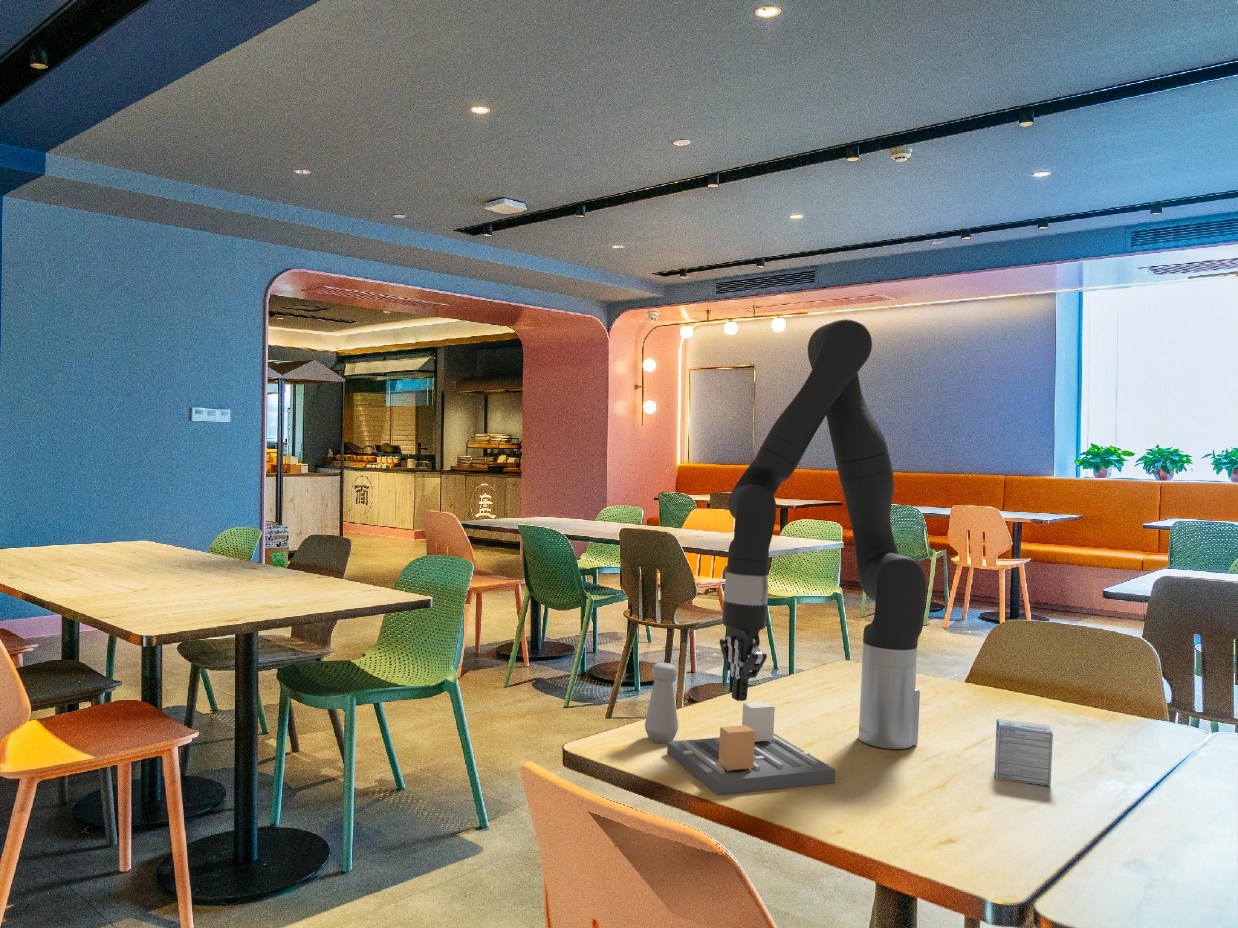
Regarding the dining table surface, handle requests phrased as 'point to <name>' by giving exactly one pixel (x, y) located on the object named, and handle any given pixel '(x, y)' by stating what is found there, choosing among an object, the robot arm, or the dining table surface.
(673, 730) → the salt shaker
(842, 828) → the dining table surface
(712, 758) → the console
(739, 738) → the block
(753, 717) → the fader
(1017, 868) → the dining table surface
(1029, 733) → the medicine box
